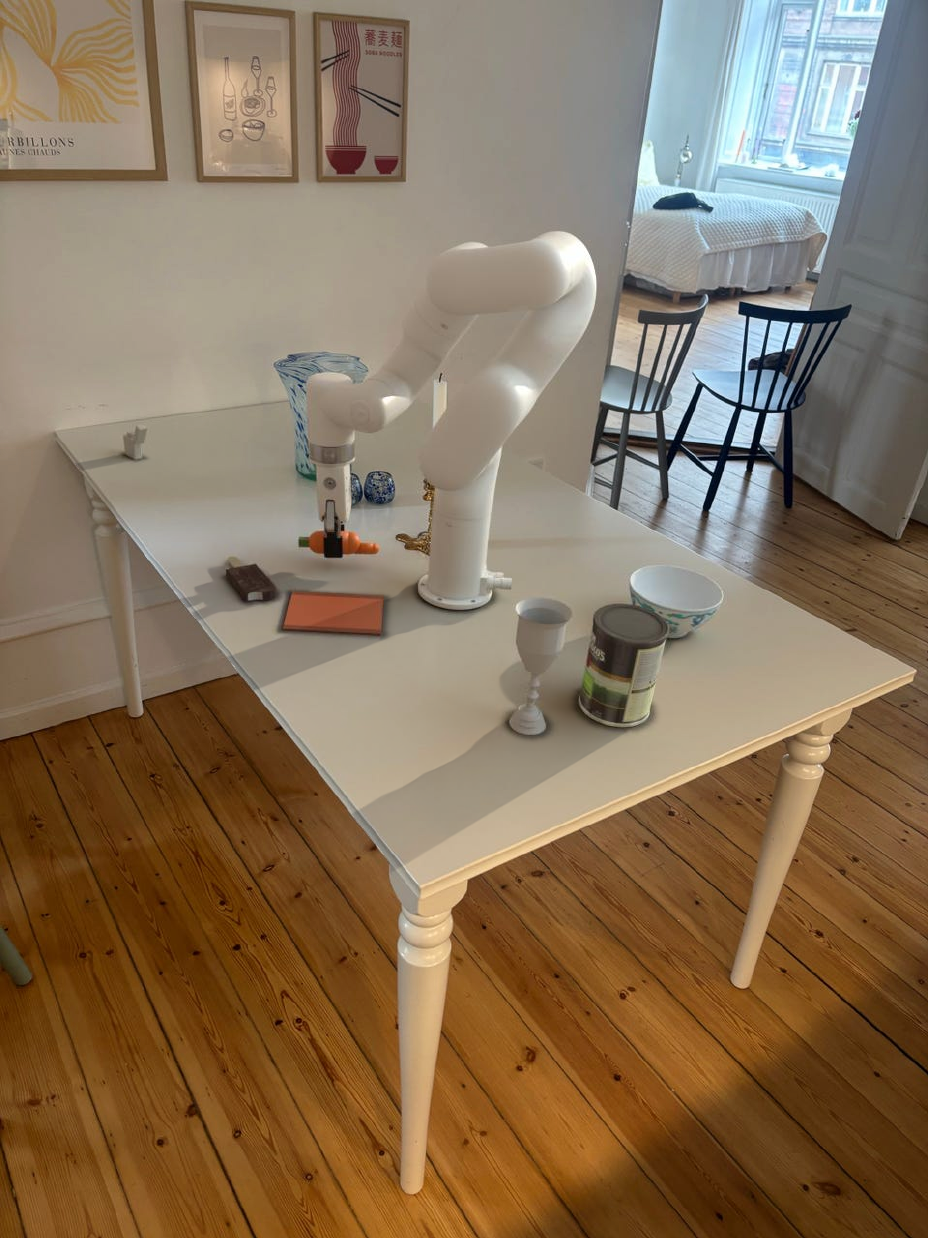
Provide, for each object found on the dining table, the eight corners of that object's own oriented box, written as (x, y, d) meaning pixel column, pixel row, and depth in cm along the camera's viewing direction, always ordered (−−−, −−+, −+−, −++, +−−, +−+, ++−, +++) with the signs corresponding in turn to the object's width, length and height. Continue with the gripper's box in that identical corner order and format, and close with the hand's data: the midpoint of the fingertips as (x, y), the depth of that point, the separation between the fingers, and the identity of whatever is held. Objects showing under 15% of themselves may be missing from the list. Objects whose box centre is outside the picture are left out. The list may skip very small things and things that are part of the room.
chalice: (551, 710, 131) (568, 599, 122) (556, 740, 125) (576, 626, 116) (499, 707, 130) (513, 596, 121) (502, 737, 125) (517, 622, 115)
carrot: (379, 548, 164) (379, 528, 162) (378, 558, 160) (378, 537, 158) (300, 547, 163) (299, 526, 161) (298, 557, 160) (296, 536, 158)
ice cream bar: (216, 564, 159) (248, 604, 149) (215, 556, 158) (247, 595, 148) (245, 559, 162) (279, 598, 151) (245, 550, 161) (278, 589, 150)
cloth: (383, 597, 154) (383, 595, 154) (380, 635, 144) (380, 633, 144) (292, 592, 153) (292, 590, 153) (282, 630, 143) (282, 628, 143)
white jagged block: (124, 453, 198) (120, 417, 194) (131, 452, 199) (128, 416, 195) (142, 463, 194) (139, 427, 190) (150, 462, 195) (146, 425, 191)
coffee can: (585, 727, 128) (601, 641, 121) (572, 684, 137) (587, 601, 130) (658, 729, 129) (678, 643, 122) (640, 686, 138) (658, 604, 131)
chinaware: (603, 620, 154) (610, 579, 150) (660, 596, 163) (669, 557, 159) (673, 662, 145) (683, 619, 141) (731, 635, 153) (742, 594, 149)
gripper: (351, 469, 145) (353, 573, 155) (357, 434, 160) (359, 531, 169) (302, 468, 145) (307, 572, 154) (313, 433, 159) (317, 530, 169)
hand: (334, 550), depth 161 cm, fingers closed on carrot, 4 cm apart
